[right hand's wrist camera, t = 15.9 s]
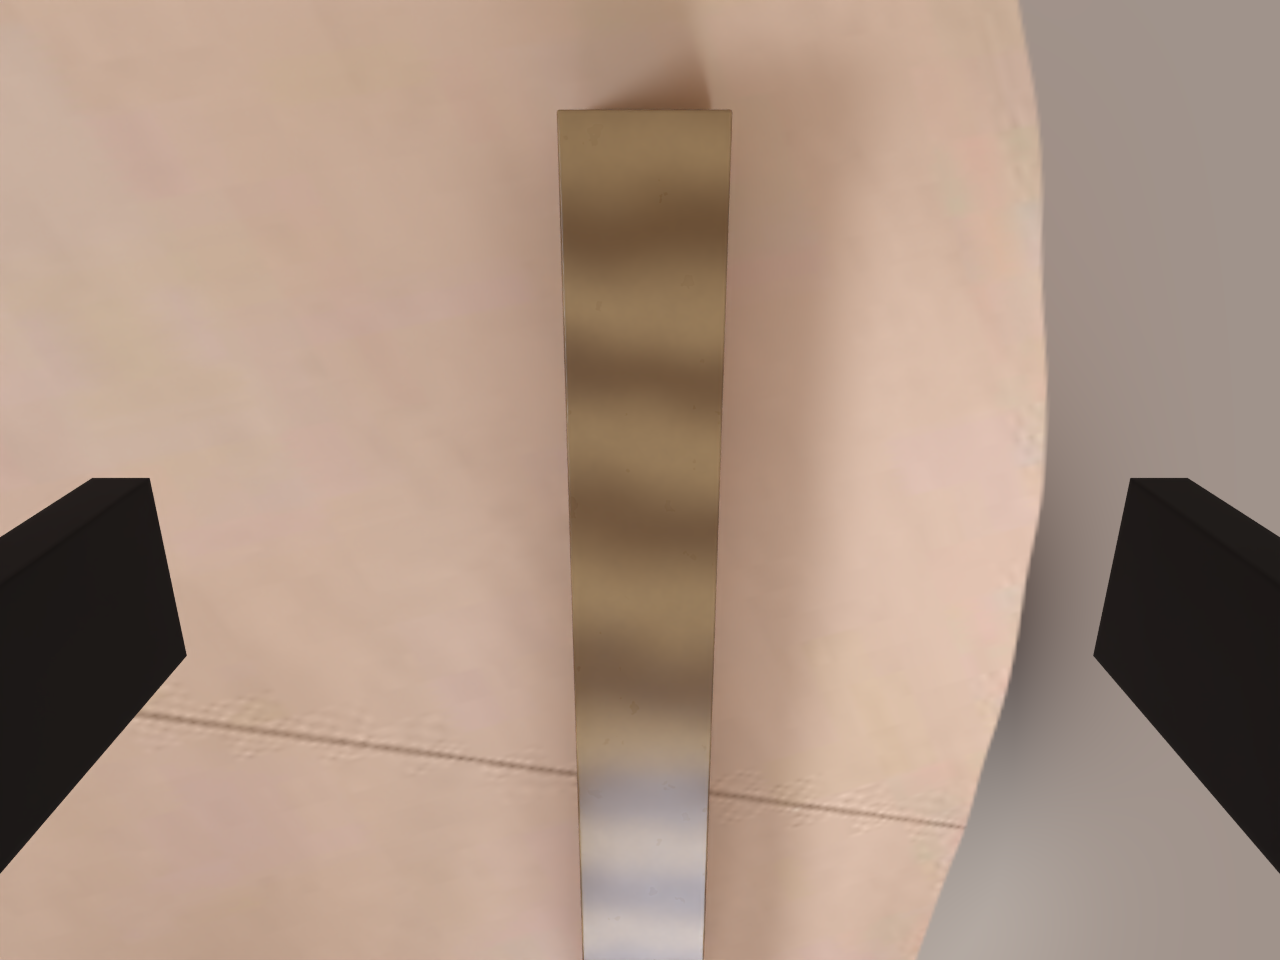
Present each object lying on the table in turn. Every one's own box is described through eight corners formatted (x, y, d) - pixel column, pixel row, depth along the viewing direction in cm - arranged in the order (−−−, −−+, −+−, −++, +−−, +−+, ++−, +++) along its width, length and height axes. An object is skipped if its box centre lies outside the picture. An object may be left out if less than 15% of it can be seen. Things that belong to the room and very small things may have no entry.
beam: (576, 113, 36) (556, 109, 28) (713, 113, 36) (732, 109, 28) (597, 1023, 54) (589, 1181, 46) (688, 1024, 54) (696, 1182, 46)
